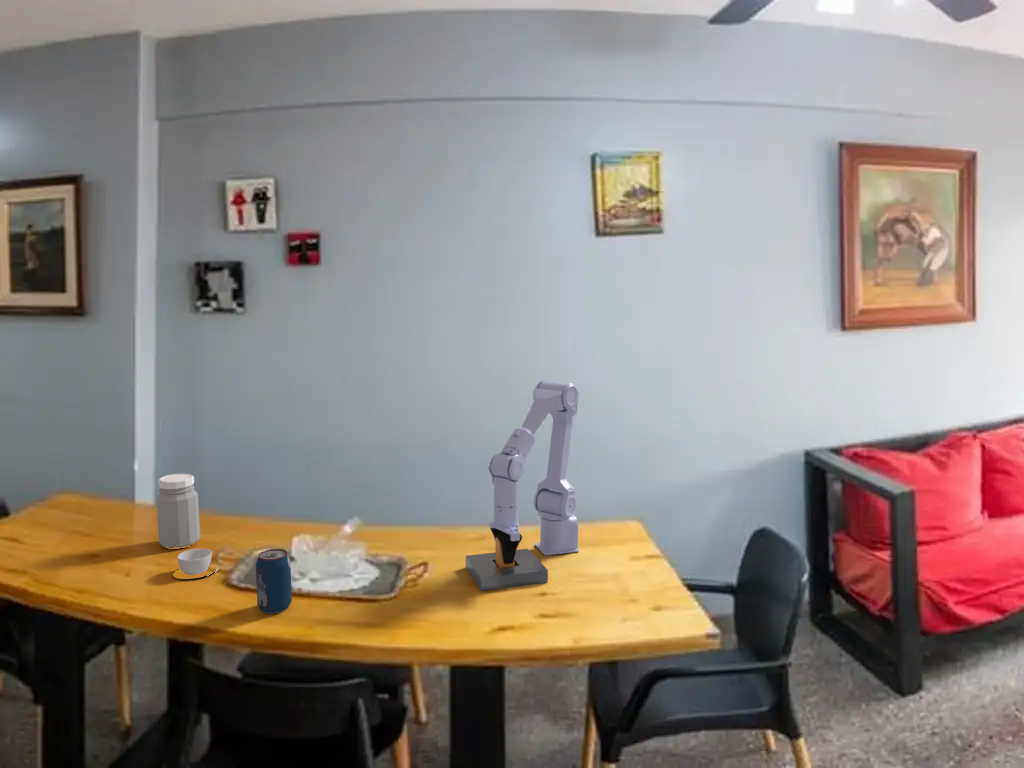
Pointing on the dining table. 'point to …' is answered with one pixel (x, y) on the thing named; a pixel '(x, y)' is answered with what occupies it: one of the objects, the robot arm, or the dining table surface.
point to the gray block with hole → (506, 571)
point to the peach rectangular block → (501, 557)
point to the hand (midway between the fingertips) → (505, 559)
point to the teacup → (195, 561)
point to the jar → (177, 511)
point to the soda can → (273, 581)
